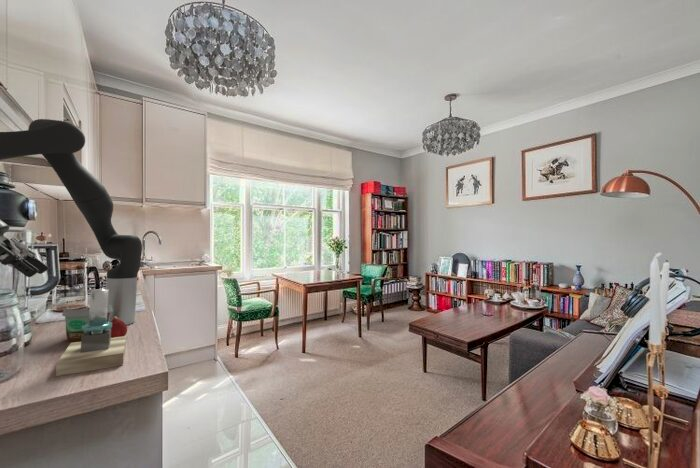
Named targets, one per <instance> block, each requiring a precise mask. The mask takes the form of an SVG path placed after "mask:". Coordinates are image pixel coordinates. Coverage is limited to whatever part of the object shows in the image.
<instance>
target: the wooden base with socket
mask: <svg viewBox="0 0 700 468" xmlns="http://www.w3.org/2000/svg"><path fill="white" fill-rule="evenodd" d="M126 345H127V336H126V335H125V336H123V337H115V338H111V328H109V329H106V330H103V333H98V334H92V332H84V333H83V335H82V337H81V342H74V343H73V342H69V345H68V347H67V348H66V349H65V351H64V352H63V353H62V354H61V357H60V358H59V359H58V361H57V362H56V368H55V369H56V371H55V377H58V376H59V377H60V376H66V375H71V374H73V375H74V374H78V373H84V372H85V373H86V372H89V371H90V372H91V371H96V370H101V369H108V368H114V367H118V366H121V367H122V366H124V360H125V359H124V358H125V353H126Z"/></svg>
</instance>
